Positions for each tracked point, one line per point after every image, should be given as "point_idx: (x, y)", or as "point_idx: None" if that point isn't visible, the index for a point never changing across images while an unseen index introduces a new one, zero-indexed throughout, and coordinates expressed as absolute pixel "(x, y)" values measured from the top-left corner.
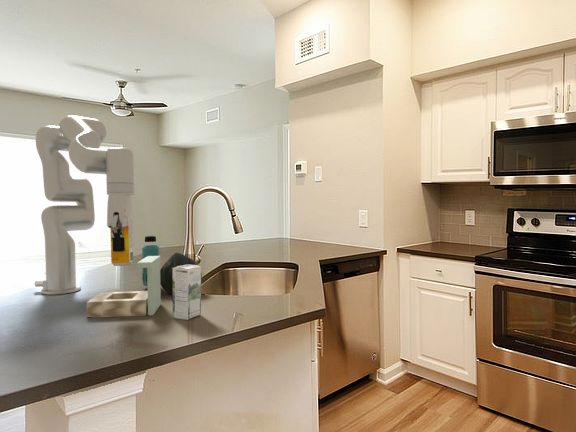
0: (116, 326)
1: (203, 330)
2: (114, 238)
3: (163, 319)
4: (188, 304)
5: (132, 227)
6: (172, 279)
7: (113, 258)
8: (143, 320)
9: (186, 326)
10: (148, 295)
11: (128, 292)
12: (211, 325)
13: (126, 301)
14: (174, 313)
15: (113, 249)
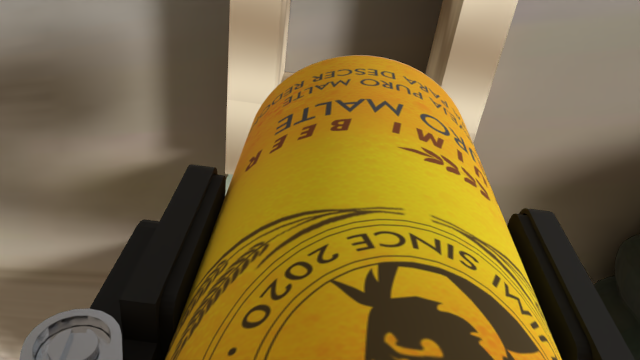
0: (73, 20)
1: (25, 307)
2: (125, 318)
3: (166, 201)
4: None
5: None
6: (633, 306)
7: (264, 112)
8: (160, 128)
9: (68, 268)
10: None
11: (463, 65)
12: None
13: (229, 76)
14: None
15: (182, 183)
